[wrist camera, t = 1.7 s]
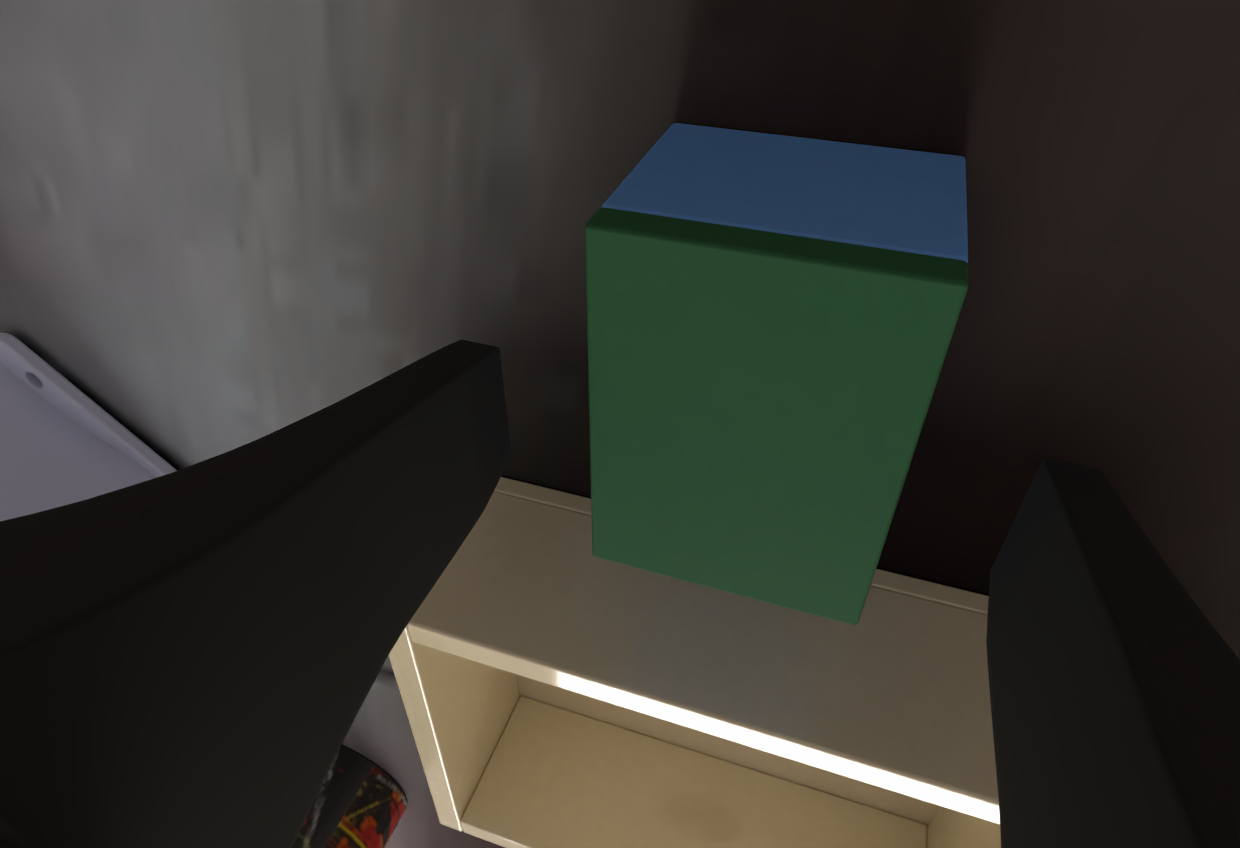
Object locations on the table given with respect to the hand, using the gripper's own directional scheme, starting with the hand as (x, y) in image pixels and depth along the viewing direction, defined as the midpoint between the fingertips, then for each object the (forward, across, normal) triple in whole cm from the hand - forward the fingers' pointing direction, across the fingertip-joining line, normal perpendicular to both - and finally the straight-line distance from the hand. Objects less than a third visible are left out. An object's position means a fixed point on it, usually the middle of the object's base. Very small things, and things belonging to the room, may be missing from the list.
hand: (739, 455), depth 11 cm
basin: (+4, 0, +10) cm, 11 cm away
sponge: (+4, 0, 0) cm, 4 cm away
